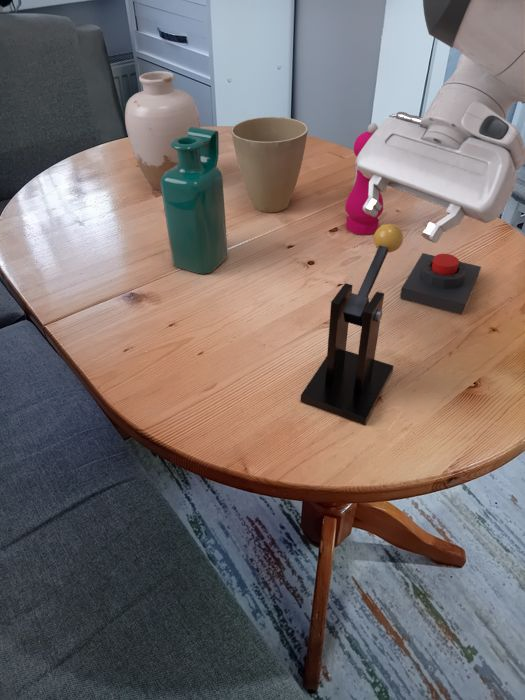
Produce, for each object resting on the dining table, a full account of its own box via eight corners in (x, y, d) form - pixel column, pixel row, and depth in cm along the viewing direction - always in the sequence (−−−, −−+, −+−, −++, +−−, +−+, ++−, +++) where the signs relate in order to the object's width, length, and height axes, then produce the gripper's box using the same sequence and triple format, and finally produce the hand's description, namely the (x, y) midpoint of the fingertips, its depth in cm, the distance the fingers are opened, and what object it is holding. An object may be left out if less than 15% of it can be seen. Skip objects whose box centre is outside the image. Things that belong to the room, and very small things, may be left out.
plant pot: (318, 199, 116) (321, 123, 106) (281, 227, 107) (281, 147, 97) (260, 184, 123) (258, 111, 112) (221, 210, 113) (215, 133, 103)
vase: (176, 203, 116) (161, 90, 101) (122, 188, 123) (100, 80, 108) (219, 177, 126) (210, 70, 111) (166, 164, 133) (152, 62, 118)
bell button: (435, 260, 90) (437, 251, 89) (459, 266, 88) (461, 256, 87) (428, 272, 87) (430, 262, 86) (453, 278, 86) (455, 268, 84)
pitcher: (208, 277, 94) (195, 152, 80) (168, 266, 97) (148, 143, 83) (235, 251, 101) (228, 131, 86) (197, 241, 104) (183, 124, 89)
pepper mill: (341, 234, 104) (349, 129, 91) (345, 217, 110) (354, 115, 97) (379, 238, 103) (393, 131, 90) (381, 220, 108) (395, 117, 95)
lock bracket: (332, 353, 78) (340, 265, 68) (392, 372, 75) (409, 283, 65) (300, 402, 71) (303, 312, 61) (365, 425, 68) (379, 334, 58)
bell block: (420, 263, 96) (424, 243, 93) (478, 277, 92) (483, 257, 90) (399, 298, 88) (403, 278, 85) (461, 315, 84) (467, 294, 82)
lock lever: (380, 232, 71) (379, 214, 68) (406, 238, 69) (407, 220, 66) (339, 322, 66) (336, 307, 63) (367, 330, 65) (365, 316, 62)
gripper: (382, 94, 70) (326, 189, 71) (532, 134, 58) (460, 245, 60) (398, 122, 75) (346, 209, 76) (539, 163, 63) (473, 265, 65)
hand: (397, 225), depth 68 cm, fingers open, 8 cm apart
